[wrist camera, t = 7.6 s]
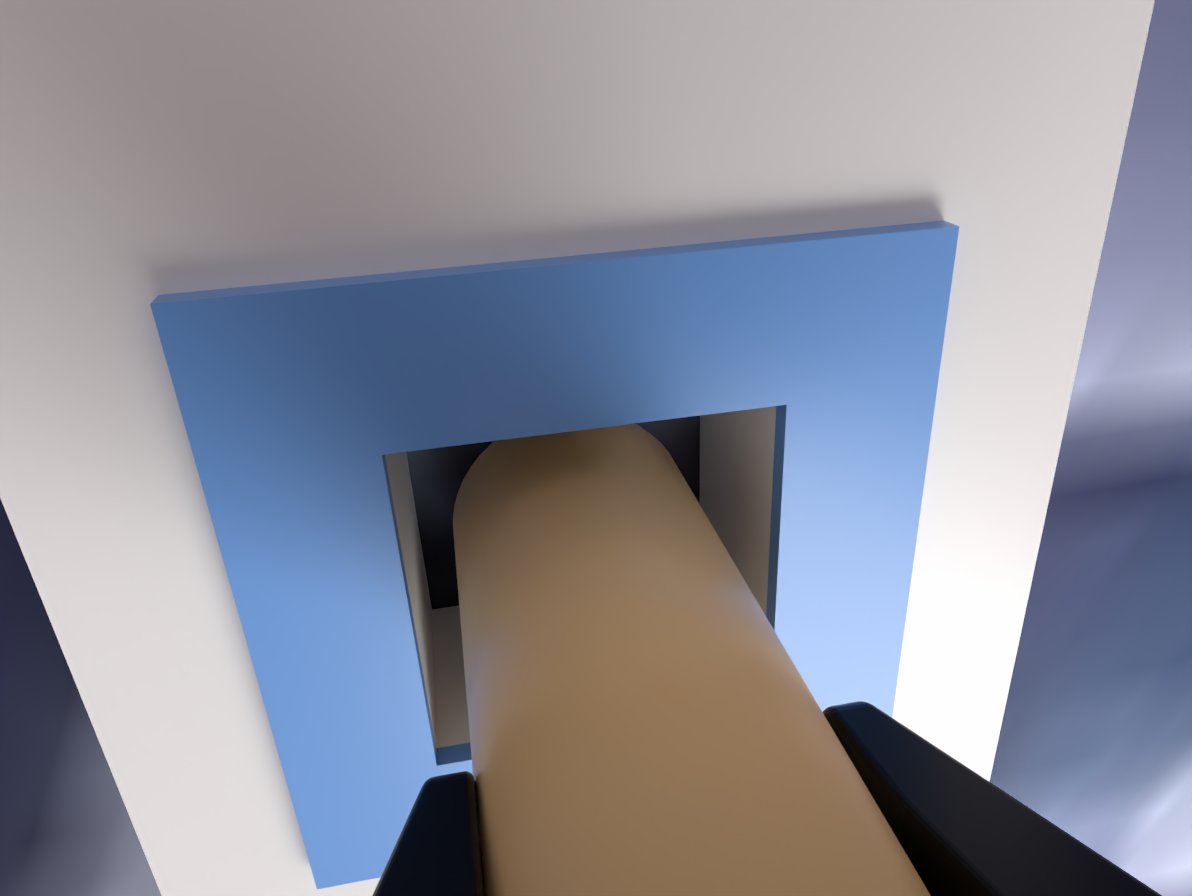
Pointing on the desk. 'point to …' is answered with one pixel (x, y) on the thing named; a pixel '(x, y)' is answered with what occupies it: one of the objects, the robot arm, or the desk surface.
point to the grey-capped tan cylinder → (640, 694)
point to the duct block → (523, 352)
